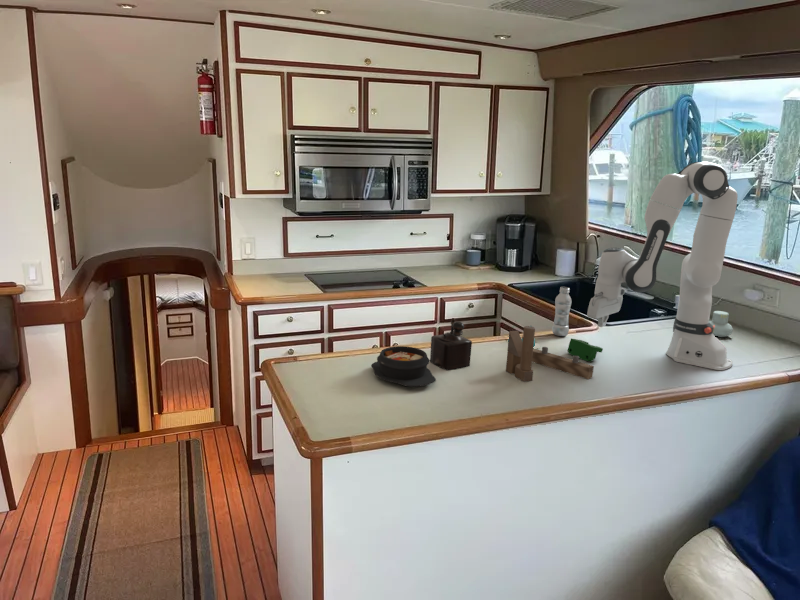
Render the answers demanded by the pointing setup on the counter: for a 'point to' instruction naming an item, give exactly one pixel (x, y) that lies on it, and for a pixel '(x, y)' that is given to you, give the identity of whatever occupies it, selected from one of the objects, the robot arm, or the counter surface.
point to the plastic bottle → (562, 312)
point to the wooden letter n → (521, 354)
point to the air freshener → (721, 324)
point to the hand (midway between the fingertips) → (601, 326)
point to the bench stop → (562, 363)
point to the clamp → (583, 349)
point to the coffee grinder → (451, 348)
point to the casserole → (403, 366)
